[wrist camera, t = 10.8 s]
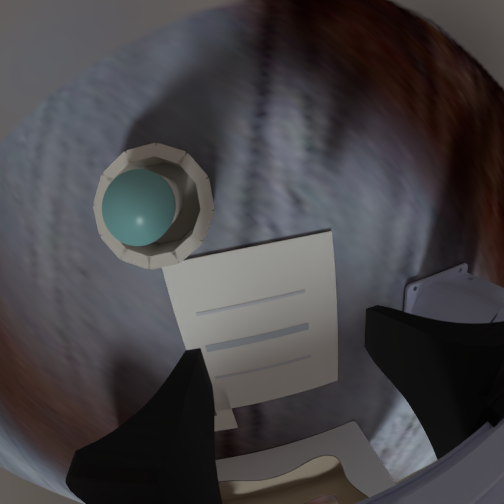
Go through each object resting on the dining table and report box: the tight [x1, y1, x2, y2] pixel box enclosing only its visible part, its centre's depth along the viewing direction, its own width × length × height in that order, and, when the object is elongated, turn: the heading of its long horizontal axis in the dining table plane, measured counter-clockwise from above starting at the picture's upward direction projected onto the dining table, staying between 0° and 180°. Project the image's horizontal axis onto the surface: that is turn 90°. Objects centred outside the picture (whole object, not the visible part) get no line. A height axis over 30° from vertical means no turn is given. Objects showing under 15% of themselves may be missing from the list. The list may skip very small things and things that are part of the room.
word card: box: [214, 386, 238, 431], centre depth 21 cm, size 5×7×1 cm
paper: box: [162, 231, 338, 411], centre depth 20 cm, size 12×14×1 cm
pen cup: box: [93, 143, 215, 270], centre depth 15 cm, size 6×6×4 cm
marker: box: [102, 169, 183, 246], centre depth 13 cm, size 3×3×7 cm
